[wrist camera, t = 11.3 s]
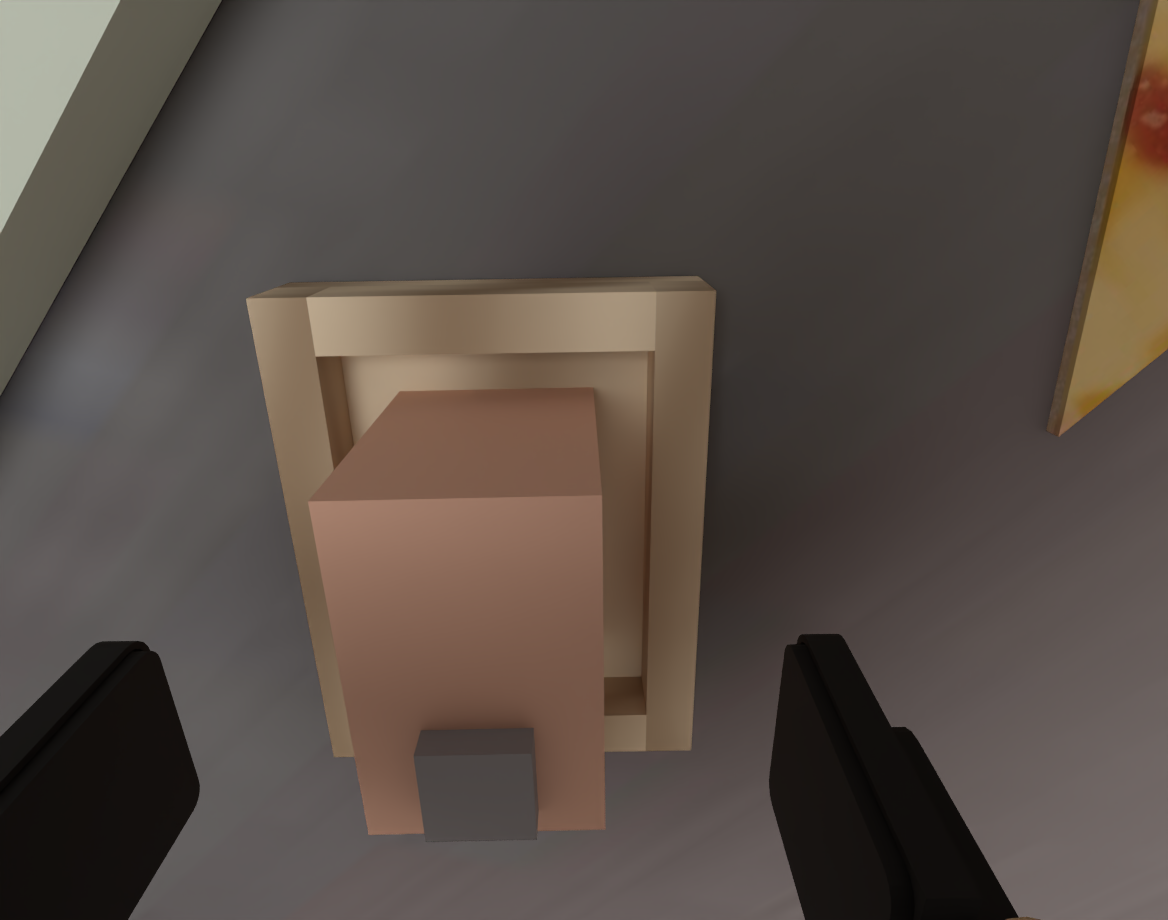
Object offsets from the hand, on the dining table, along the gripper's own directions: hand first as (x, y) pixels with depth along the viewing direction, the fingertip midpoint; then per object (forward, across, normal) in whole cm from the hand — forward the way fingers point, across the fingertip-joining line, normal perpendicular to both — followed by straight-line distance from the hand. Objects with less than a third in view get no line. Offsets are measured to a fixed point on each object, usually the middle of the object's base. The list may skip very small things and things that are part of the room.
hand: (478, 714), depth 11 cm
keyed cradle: (+8, 0, +1) cm, 8 cm away
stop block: (+7, 0, +1) cm, 7 cm away
